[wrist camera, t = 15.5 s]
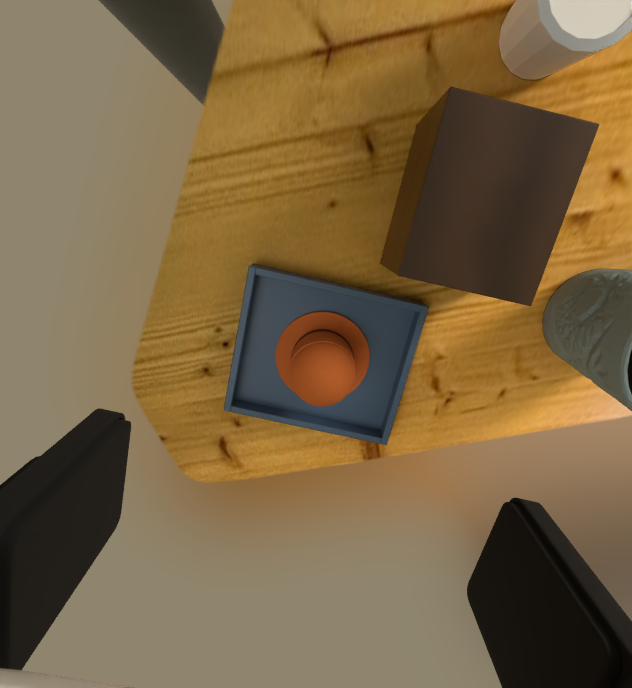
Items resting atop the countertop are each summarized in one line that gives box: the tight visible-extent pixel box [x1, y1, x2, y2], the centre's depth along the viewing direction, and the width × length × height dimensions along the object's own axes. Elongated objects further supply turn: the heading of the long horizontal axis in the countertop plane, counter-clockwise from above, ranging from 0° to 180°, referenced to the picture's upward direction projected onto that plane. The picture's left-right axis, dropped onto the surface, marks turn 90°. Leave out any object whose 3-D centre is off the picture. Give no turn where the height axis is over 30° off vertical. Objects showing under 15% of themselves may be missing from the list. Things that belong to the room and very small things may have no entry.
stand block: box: [380, 87, 599, 306], centre depth 29 cm, size 9×11×9 cm
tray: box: [224, 264, 429, 445], centre depth 36 cm, size 15×13×2 cm
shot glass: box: [499, 0, 632, 80], centre depth 27 cm, size 7×7×7 cm
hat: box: [276, 311, 370, 407], centre depth 33 cm, size 8×8×7 cm
